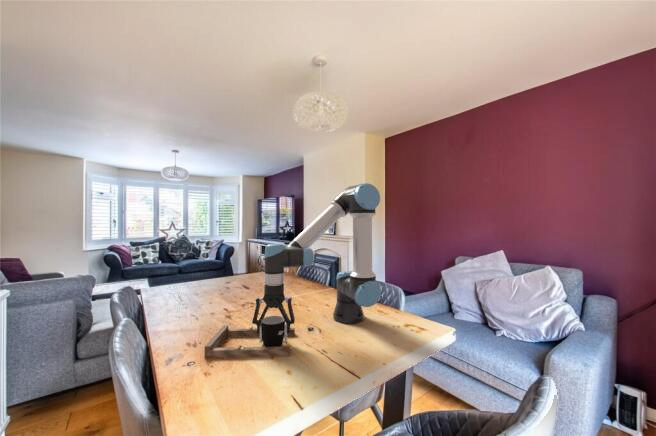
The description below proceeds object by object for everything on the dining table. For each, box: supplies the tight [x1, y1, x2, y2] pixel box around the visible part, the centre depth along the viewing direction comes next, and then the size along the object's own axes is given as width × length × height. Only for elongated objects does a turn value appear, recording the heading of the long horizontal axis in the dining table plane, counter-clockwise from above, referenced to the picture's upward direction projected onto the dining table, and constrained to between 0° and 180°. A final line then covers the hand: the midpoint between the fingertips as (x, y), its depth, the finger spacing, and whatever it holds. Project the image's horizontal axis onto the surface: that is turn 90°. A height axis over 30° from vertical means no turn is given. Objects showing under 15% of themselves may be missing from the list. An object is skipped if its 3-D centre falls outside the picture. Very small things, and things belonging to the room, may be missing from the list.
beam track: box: [204, 324, 296, 359], centre depth 105 cm, size 30×19×4 cm, turn 92°
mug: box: [261, 315, 286, 347], centre depth 105 cm, size 12×9×10 cm
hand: (273, 341), depth 105 cm, fingers closed on mug, 9 cm apart
